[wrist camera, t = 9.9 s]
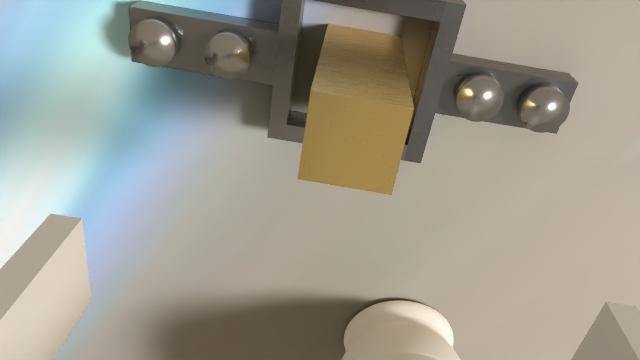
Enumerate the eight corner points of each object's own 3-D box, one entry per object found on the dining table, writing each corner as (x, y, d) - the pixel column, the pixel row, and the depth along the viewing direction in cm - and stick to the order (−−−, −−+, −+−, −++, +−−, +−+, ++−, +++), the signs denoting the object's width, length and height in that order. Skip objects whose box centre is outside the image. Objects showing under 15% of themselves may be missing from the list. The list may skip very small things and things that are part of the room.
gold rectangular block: (317, 91, 30) (297, 179, 22) (328, 23, 28) (310, 90, 20) (384, 103, 30) (391, 194, 22) (400, 36, 28) (414, 108, 20)
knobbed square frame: (143, 101, 31) (127, 117, 29) (137, -59, 27) (117, -53, 24) (530, 166, 31) (541, 187, 29) (591, 19, 27) (611, 31, 25)
